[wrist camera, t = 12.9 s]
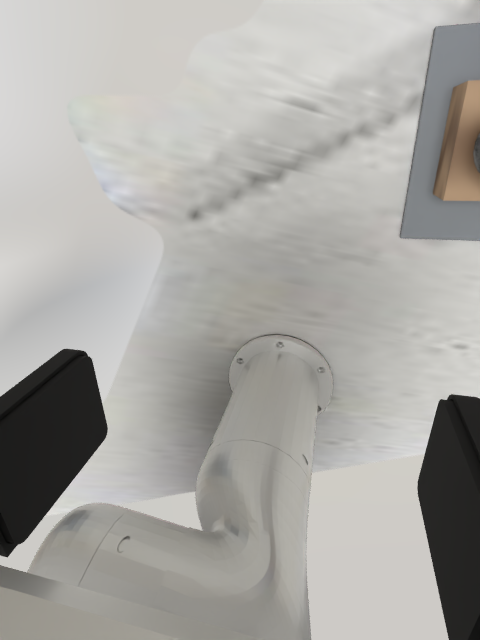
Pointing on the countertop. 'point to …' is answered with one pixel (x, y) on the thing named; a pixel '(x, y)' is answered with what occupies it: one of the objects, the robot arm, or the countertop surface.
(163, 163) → the countertop surface
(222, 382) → the countertop surface
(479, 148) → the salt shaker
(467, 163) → the base block
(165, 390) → the countertop surface
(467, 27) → the slate mat
